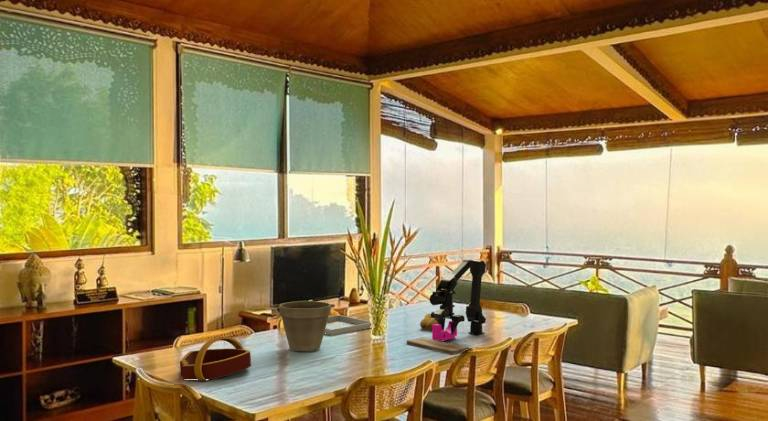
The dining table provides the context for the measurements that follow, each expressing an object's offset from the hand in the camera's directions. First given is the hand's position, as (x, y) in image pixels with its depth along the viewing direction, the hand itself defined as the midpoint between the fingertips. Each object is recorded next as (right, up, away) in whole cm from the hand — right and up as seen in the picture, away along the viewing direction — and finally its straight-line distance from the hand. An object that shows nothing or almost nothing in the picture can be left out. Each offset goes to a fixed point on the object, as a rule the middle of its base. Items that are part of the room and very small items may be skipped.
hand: (447, 333), depth 329 cm
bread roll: (-7, -3, +26) cm, 27 cm away
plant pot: (-71, -4, -20) cm, 74 cm away
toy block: (0, -3, 0) cm, 3 cm away
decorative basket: (-102, -5, -61) cm, 119 cm away
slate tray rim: (-60, -3, +32) cm, 68 cm away
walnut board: (-7, -4, -16) cm, 17 cm away
